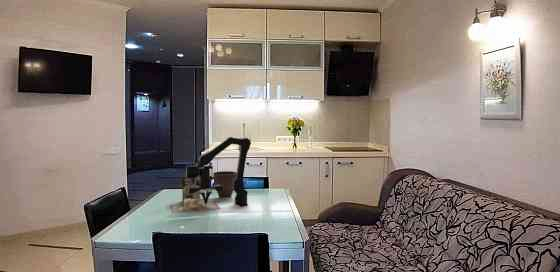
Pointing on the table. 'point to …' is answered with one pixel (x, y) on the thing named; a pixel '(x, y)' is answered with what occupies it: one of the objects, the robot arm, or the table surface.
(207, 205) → the board
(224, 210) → the table surface
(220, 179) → the plant pot
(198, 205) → the t block
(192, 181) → the coffee box
